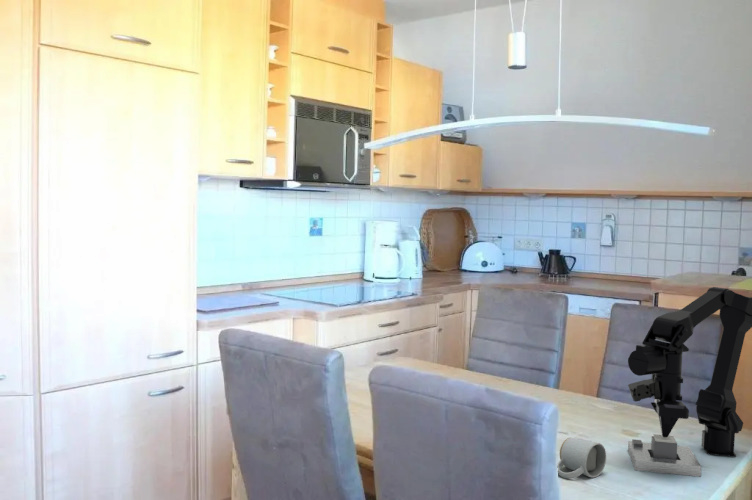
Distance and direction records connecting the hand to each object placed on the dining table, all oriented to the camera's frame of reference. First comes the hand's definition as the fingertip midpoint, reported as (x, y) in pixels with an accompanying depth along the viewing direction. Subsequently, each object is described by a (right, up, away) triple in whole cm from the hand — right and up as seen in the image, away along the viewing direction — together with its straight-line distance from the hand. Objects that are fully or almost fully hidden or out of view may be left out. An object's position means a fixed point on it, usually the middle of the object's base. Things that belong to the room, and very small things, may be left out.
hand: (664, 436), depth 164 cm
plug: (0, -7, 0) cm, 7 cm away
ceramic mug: (-22, -7, -6) cm, 24 cm away
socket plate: (0, -7, +1) cm, 7 cm away
